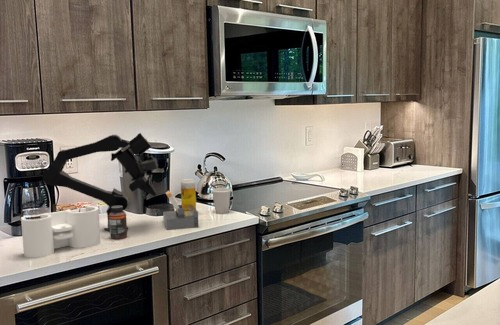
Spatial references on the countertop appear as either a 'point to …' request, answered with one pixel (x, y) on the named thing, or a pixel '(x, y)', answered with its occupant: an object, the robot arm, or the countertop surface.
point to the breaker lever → (172, 200)
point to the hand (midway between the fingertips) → (155, 194)
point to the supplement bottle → (117, 222)
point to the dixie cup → (221, 200)
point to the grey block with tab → (181, 218)
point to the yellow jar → (188, 193)
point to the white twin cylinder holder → (60, 231)
